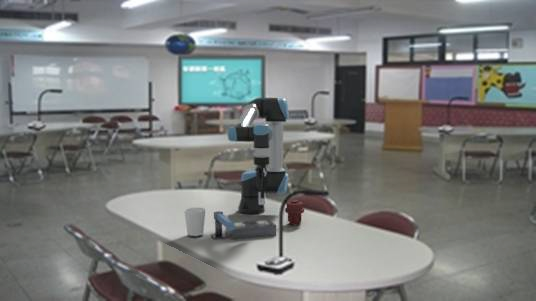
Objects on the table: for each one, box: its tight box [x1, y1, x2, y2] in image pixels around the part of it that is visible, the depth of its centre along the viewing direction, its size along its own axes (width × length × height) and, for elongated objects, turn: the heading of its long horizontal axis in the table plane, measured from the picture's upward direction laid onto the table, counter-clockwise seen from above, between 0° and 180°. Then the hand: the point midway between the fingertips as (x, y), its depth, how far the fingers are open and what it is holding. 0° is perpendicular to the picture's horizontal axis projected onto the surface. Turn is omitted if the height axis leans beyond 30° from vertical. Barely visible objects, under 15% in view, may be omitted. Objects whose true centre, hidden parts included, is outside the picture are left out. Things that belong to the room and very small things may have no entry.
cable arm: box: [213, 211, 235, 230], centre depth 248 cm, size 24×4×3 cm, turn 21°
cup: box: [184, 206, 206, 238], centre depth 261 cm, size 10×10×13 cm
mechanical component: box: [284, 199, 305, 226], centre depth 282 cm, size 12×10×10 cm
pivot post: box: [210, 219, 227, 240], centre depth 258 cm, size 6×6×9 cm
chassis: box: [225, 219, 277, 240], centre depth 263 cm, size 12×22×5 cm, turn 108°
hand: (261, 204), depth 264 cm, fingers closed
